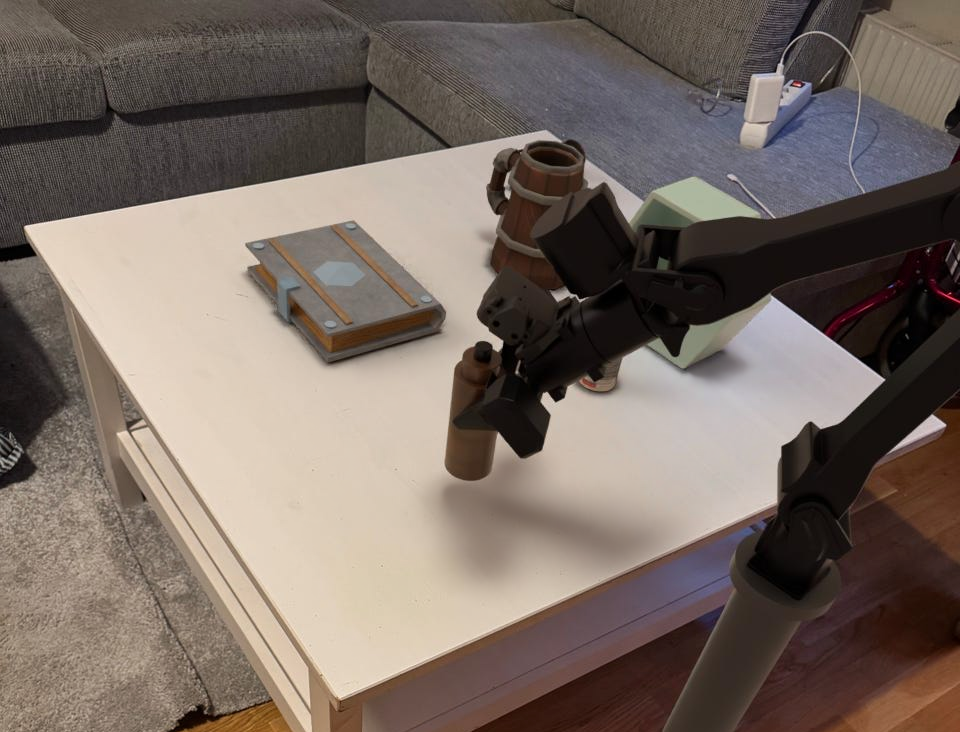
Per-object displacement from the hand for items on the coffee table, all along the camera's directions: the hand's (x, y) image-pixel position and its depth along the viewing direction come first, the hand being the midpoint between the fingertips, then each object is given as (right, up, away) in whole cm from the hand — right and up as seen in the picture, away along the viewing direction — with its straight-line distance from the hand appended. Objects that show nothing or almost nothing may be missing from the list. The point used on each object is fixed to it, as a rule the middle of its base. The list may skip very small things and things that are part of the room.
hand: (461, 408), depth 87 cm
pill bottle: (+16, +9, +24) cm, 30 cm away
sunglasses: (+11, +49, +54) cm, 74 cm away
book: (-15, +20, +27) cm, 37 cm away
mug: (+8, +30, +39) cm, 50 cm away
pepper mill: (+1, -4, +5) cm, 7 cm away
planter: (+26, +17, +31) cm, 44 cm away
